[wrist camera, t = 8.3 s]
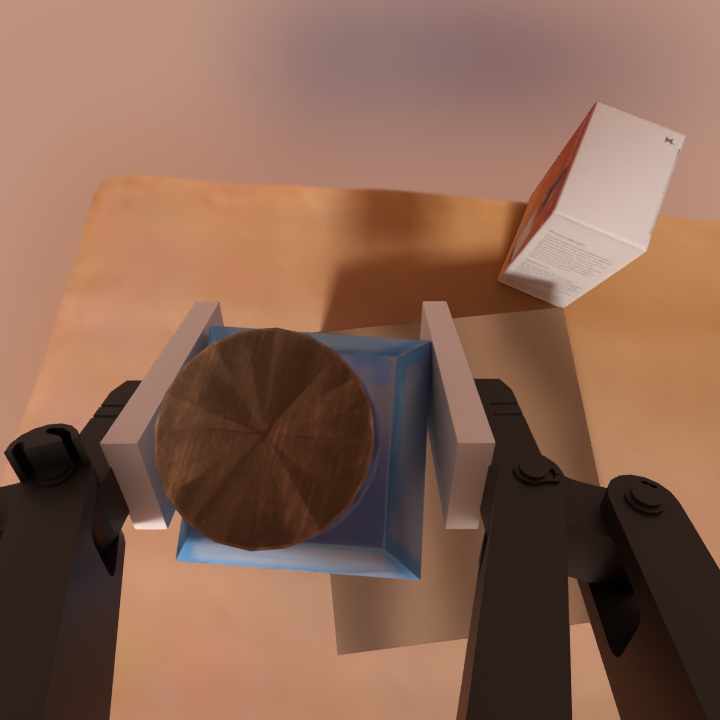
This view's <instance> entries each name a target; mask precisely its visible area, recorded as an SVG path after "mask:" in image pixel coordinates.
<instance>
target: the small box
mask: <svg viewBox="0 0 720 720" xmlns="http://www.w3.org/2000/svg"><path fill="white" fill-rule="evenodd" d="M685 140H686V136H685V135H683V134H681V133H678V132H676V131H673V130H671V129H668V128H666V127H663V126H660V125H658V124H655V123H653V122H650V121H648V120H645V119H642V118H640V117H637V116H635V115H632V114H629V113H627V112H624V111H622V110H619V109H617V108H614V107H611V106H609V105H606V104H603V103H601V102H596V103H595V104H594V106H593V107H592V109H591V110H590V112H589V113H588V115H587V116H586V118H585V119H584V121H583V122H582V123H581V125H580V126H579V128H578V129H577V130H576V132H575V133H574V135H573V136H572V138H571V139H570V140H569V142H568V143H567V145H566V146H565V148H564V149H563V150H562V152H561V153H560V155H559V156H558V158H557V159H556V161H555V162H554V164H553V165H552V167H551V168H550V169H549V171H548V172H547V174H546V175H545V177H544V178H543V179H542V181H541V182H540V184H539V185H538V187H537V188H536V190H535V191H534V192H533V194H532V195H531V197H530V199H529V202H528V205H527V208H526V211H525V213H524V216H523V218H522V221H521V223H520V226H519V228H518V231H517V233H516V235H515V238H514V240H513V242H512V245H511V247H510V249H509V252H508V254H507V257H506V259H505V262H504V264H503V266H502V269H501V271H500V274H499V276H498V278H497V280H498V281H499V282H501V283H503V284H506V285H508V286H510V287H513V288H515V289H517V290H520V291H522V292H524V293H527V294H529V295H532V296H534V297H536V298H539V299H541V300H543V301H546V302H548V303H551V304H553V305H555V306H558V307H562V308H565V307H566V306H567V305H569V304H570V303H572V302H573V301H575V300H576V299H578V298H579V297H581V296H582V295H584V294H585V293H586V292H588V291H589V290H591V289H592V288H594V287H595V286H597V285H598V284H600V283H601V282H603V281H604V280H606V279H607V278H608V277H610V276H611V275H613V274H614V273H616V272H617V271H619V270H620V269H621V268H623V267H624V266H626V265H627V264H629V263H630V262H632V261H633V260H635V259H636V258H637V257H639V256H640V255H642V254H643V253H645V252H646V251H647V250H648V247H649V243H650V239H651V236H652V232H653V229H654V226H655V223H656V220H657V217H658V214H659V211H660V208H661V205H662V202H663V199H664V196H665V193H666V190H667V187H668V184H669V181H670V179H671V176H672V172H673V170H674V167H675V165H676V162H677V159H678V156H679V154H680V152H681V150H682V148H683V145H684V143H685Z"/></svg>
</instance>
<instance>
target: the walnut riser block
mask: <svg viewBox="0 0 720 720" xmlns="http://www.w3.org/2000/svg"><path fill="white" fill-rule="evenodd" d="M452 319H453V322H454V325H455V328H456V331H457V334H458V336H459V339H460V342H461V345H462V348H463V351H464V354H465V357H466V360H467V362H468V365H469V368H470V371H471V374H472V377H473V379H501V380H502V381H503V382H504V383H505V384H506V385H507V386H508V387H510V388H511V389H512V391H513V393H514V395H515V397H516V399H517V402H518V405H519V406H520V408H521V410H522V413H523V416H524V417H525V419H526V421H527V424H528V426H529V428H530V430H531V432H532V435H533V437H534V439H535V441H536V443H537V446H538V448H539V450H540V452H541V454H542V455H543V456H545V457H547V458H548V459H550V460H551V461H553V462H555V463H556V464H557V466H558V467H559V468H560V469H561V470H562V472H563V475H564V476H566V477H568V478H570V479H573V480H577V481H580V482H584V483H588V484H592V485H596V486H600V485H599V480H598V476H597V471H596V466H595V461H594V456H593V452H592V447H591V442H590V437H589V433H588V428H587V423H586V418H585V413H584V409H583V404H582V399H581V394H580V390H579V385H578V380H577V375H576V370H575V366H574V361H573V356H572V351H571V347H570V342H569V337H568V332H567V328H566V323H565V318H564V313H563V308H562V307H558V308H548V309H539V310H529V311H519V312H509V313H500V314H490V315H480V316H470V317H461V318H452ZM420 330H421V322H412V323H402V324H392V325H383V326H373V327H363V328H353V329H344V330H334V331H324V332H314V333H323V334H338V335H352V336H366V337H381V338H395V339H409V340H420ZM484 533H485V529H484V525H483V521H482V517H481V515H480V520H479V525H478V529H445V524H444V519H443V513H442V507H441V502H440V496H439V491H438V485H437V479H436V474H435V468H434V462H433V457H432V451H431V445H430V440H429V434H428V429H427V445H426V468H425V492H424V515H423V538H422V562H421V581H420V580H408V579H395V578H383V577H370V576H358V575H345V574H333V573H330V575H331V586H332V597H333V608H334V619H335V630H336V641H337V652H338V655H341V654H349V653H357V652H364V651H372V650H380V649H388V648H396V647H403V646H411V645H419V644H427V643H434V642H442V641H450V640H458V639H465V638H468V637H469V630H470V623H471V616H472V609H473V602H474V596H475V589H476V582H477V575H478V568H479V563H478V560H479V555H480V551H481V546H482V542H483V537H484ZM568 591H569V625H574V624H582V623H589V622H590V619H589V616H588V613H587V610H586V607H585V603H584V600H583V597H582V594H581V591H580V588H579V584H578V581H577V579H575V578H571V577H568Z"/></svg>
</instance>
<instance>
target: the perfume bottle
mask: <svg viewBox="0 0 720 720" xmlns="http://www.w3.org/2000/svg"><path fill="white" fill-rule="evenodd" d="M430 351H431V341H424V340H409V339H395V338H381V337H366V336H352V335H338V334H323V333H309V332H295V331H289V330H285V329H280V328H266V329H252V328H237V327H223V326H210V329H209V335H208V342H207V347H206V348H205V349H204V350H203V351H201V352H200V353H199V354H198V355H196V356H195V357H194V358H192V359H191V360H190V361H189V362H187V363H186V364H185V365H184V367H183V368H182V370H181V371H180V373H179V374H178V375H177V377H176V378H175V380H174V381H173V383H172V384H171V386H170V387H169V388H168V390H167V391H166V393H165V396H164V399H163V402H162V405H161V408H160V411H159V414H158V418H157V421H156V424H155V459H154V461H155V464H156V467H157V471H158V474H159V477H160V480H161V483H162V486H163V489H164V492H165V495H166V496H167V498H168V499H169V500H170V502H171V503H172V504H173V506H174V507H175V508H176V510H177V511H178V512H179V514H180V515H181V516H182V520H181V527H180V534H179V541H178V547H177V554H176V561H182V562H195V563H207V564H220V565H232V566H245V567H257V568H270V569H282V570H295V571H307V572H320V573H333V574H345V575H358V576H370V577H383V578H395V579H408V580H420V581H421V562H422V538H423V515H424V492H425V468H426V445H427V421H428V398H429V374H430Z"/></svg>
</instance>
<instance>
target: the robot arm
mask: <svg viewBox="0 0 720 720" xmlns="http://www.w3.org/2000/svg"><path fill="white" fill-rule="evenodd" d="M210 326H223V327H224V324H223V319H222V314H221V308H220V303H219V302H195V304H194V305H193V307H192V308H191V310H190V311H189V313H188V314H187V316H186V317H185V319H184V320H183V322H182V323H181V325H180V326H179V327H178V329H177V330H176V332H175V333H174V335H173V336H172V338H171V339H170V341H169V342H168V344H167V345H166V347H165V348H164V350H163V351H162V353H161V354H160V355H159V357H158V358H157V360H156V361H155V363H154V364H153V366H152V367H151V369H150V370H149V372H148V373H147V375H146V376H145V378H144V379H143V380H142V381H126V382H124V383H123V384H122V385H120V386H119V387H117V388H116V389H114V390H113V391H112V392H111V393H110V394H109V395H108V397H107V398H106V399H105V401H104V402H103V403H102V405H101V407H99V409H98V410H97V411H96V413H95V414H94V415H93V416H94V417H93V418H91V419H90V421H89V422H88V423H87V425H86V426H85V427H84V429H83V430H82V431H81V433H80V434H79V433H78V431H77V430H76V429H75V428H74V427H73V426H71V425H66V424H50V425H46V426H42V427H39V428H35V429H33V430H31V431H29V432H27V433H25V434H23V435H21V436H20V437H18V438H17V439H16V440H15V441H13V442H12V443H11V444H10V445H9V446H8V448H7V449H6V451H5V452H4V454H5V455H6V457H7V459H8V461H9V462H10V464H11V466H12V468H13V469H14V471H15V473H16V475H17V476H18V478H19V480H20V483H17V484H12V485H8V486H4V487H0V720H109V718H110V707H111V696H112V685H113V674H114V663H115V652H116V641H117V630H118V619H119V608H120V597H121V586H122V575H123V564H124V553H125V538H124V534H123V532H122V530H121V528H122V526H123V524H124V522H125V520H126V518H127V516H128V514H129V515H130V517H131V520H132V522H133V525H134V527H135V529H168V527H169V524H170V522H171V520H172V517H173V515H174V512H175V510H176V508H175V507H174V506H173V504H172V503H171V502H170V500H169V499H168V498H167V496H166V495H165V492H164V489H163V486H162V483H161V480H160V477H159V474H158V471H157V467H156V464H155V461H154V459H155V424H156V421H157V418H158V414H159V411H160V408H161V405H162V402H163V399H164V396H165V393H166V391H167V390H168V388H169V387H170V386H171V384H172V383H173V381H174V380H175V378H176V377H177V375H178V374H179V373H180V371H181V370H182V368H183V367H184V365H185V364H186V363H187V362H189V361H190V360H191V359H192V358H194V357H195V356H196V355H198V354H199V353H200V352H201V351H203V350H204V349H205V348H206V347H207V342H208V335H209V329H210ZM420 340H424V341H431V351H430V374H429V398H428V421H427V429H428V434H429V440H430V445H431V451H432V457H433V462H434V468H435V474H436V479H437V485H438V491H439V496H440V502H441V507H442V513H443V519H444V524H445V529H478V525H479V520H480V515H481V517H482V521H483V525H484V529H485V533H484V537H483V542H482V546H481V551H480V555H479V560H478V563H479V568H478V575H477V582H476V589H475V596H474V602H473V609H472V616H471V623H470V630H469V637H468V643H467V650H466V657H465V664H464V671H463V677H462V684H461V691H460V698H459V705H458V711H457V718H456V720H572V698H571V662H570V626H569V591H568V577H571V578H575V579H577V581H578V584H579V588H580V591H581V594H582V597H583V600H584V603H585V607H586V610H587V613H588V616H589V619H590V623H591V626H592V629H593V632H594V635H595V639H596V642H597V645H598V648H599V651H600V655H601V658H602V661H603V664H604V667H605V670H606V674H607V677H608V680H609V683H610V686H611V690H612V693H613V696H614V699H615V702H616V706H617V709H618V712H619V715H620V718H621V720H720V569H719V568H718V566H717V564H716V563H715V561H714V559H713V558H712V556H711V554H710V553H709V551H708V549H707V548H706V546H705V544H704V543H703V541H702V539H701V538H700V536H699V534H698V533H697V531H696V529H695V528H694V526H693V524H692V523H691V521H690V519H689V518H688V516H687V514H686V513H685V511H684V509H683V508H682V506H681V504H680V503H679V501H678V500H677V499H676V498H675V497H674V495H673V494H672V493H671V492H670V491H669V490H667V489H666V488H664V487H663V486H661V485H660V484H659V483H656V482H654V481H652V480H650V479H647V478H645V477H640V476H635V475H621V476H618V477H616V478H614V479H612V480H611V481H610V483H609V485H608V487H607V488H604V487H600V486H596V485H592V484H588V483H584V482H580V481H577V480H573V479H570V478H568V477H566V476H564V475H563V472H562V470H561V469H560V468H559V467H558V466H557V464H556V463H555V462H553V461H551V460H550V459H548V458H547V457H545V456H543V455H542V454H541V452H540V450H539V448H538V446H537V443H536V441H535V439H534V437H533V435H532V432H531V430H530V428H529V426H528V424H527V421H526V419H525V417H524V416H523V413H522V410H521V408H520V406H519V405H518V402H517V399H516V397H515V395H514V393H513V391H512V389H511V388H510V387H508V386H507V385H506V384H505V383H504V382H503V381H502V380H501V379H473V377H472V374H471V371H470V368H469V365H468V362H467V360H466V357H465V354H464V351H463V348H462V345H461V342H460V339H459V336H458V334H457V331H456V328H455V325H454V322H453V319H452V316H451V313H450V311H449V308H448V305H447V302H446V301H423V304H422V317H421V330H420Z"/></svg>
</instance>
